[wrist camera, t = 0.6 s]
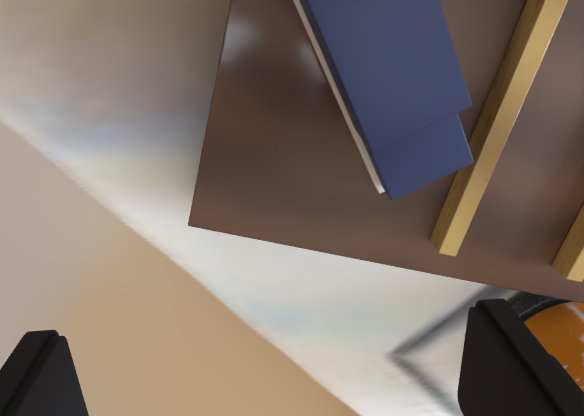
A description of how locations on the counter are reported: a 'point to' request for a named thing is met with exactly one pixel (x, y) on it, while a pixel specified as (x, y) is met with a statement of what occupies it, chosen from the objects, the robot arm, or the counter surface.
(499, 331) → the robot arm
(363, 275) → the counter surface
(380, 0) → the blue box
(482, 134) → the brown rectangular slab
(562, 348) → the canister
